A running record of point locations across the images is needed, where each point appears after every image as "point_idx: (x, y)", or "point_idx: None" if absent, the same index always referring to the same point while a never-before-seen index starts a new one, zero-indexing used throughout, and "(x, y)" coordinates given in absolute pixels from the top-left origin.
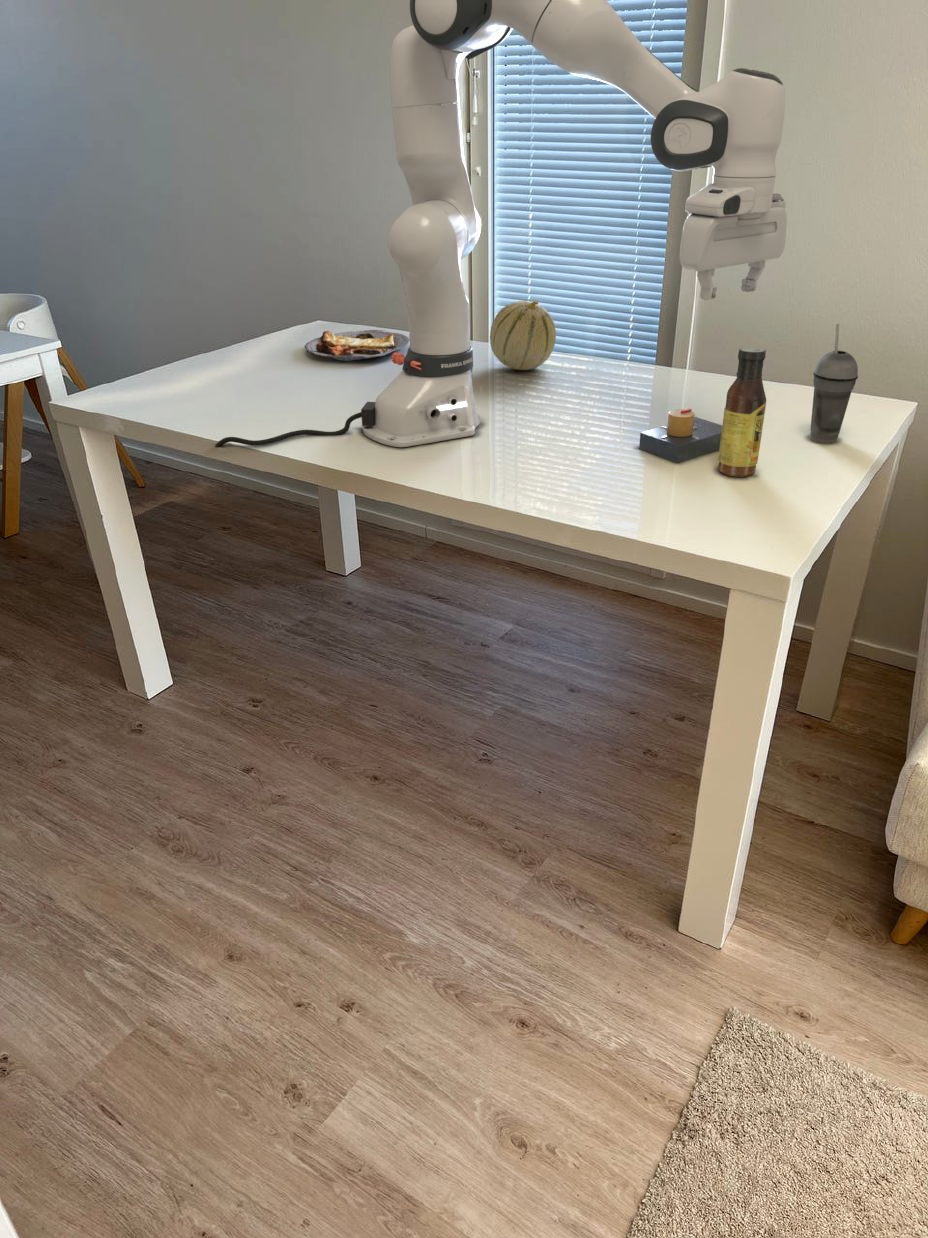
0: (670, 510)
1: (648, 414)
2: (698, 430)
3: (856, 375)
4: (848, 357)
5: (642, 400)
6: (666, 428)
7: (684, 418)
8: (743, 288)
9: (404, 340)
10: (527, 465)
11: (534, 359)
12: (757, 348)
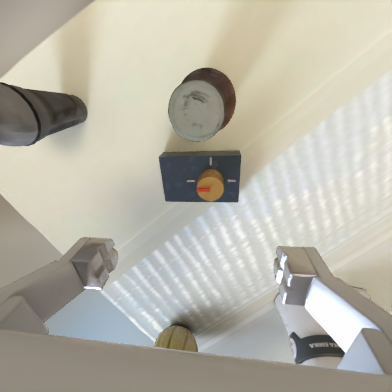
0: (361, 53)
1: (170, 239)
2: (190, 174)
3: None
4: None
5: (152, 259)
6: None
7: (218, 178)
8: (113, 259)
9: None
10: (337, 221)
11: (180, 331)
12: (184, 108)
